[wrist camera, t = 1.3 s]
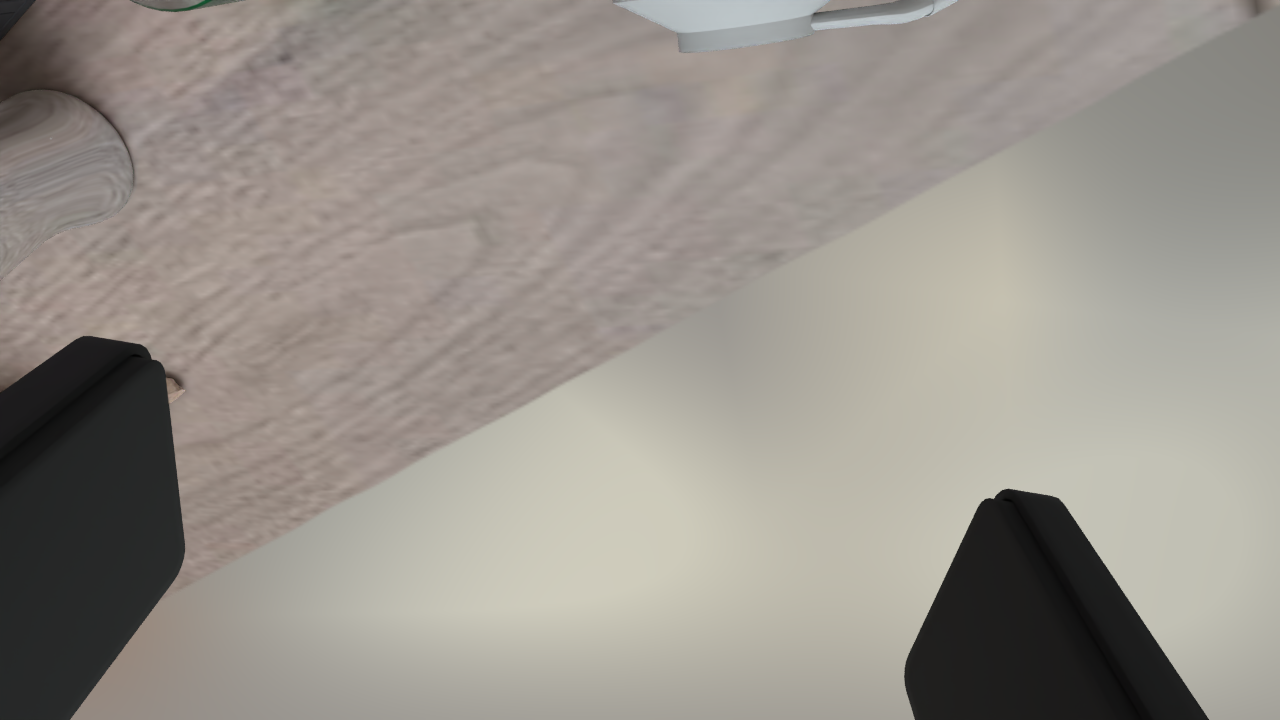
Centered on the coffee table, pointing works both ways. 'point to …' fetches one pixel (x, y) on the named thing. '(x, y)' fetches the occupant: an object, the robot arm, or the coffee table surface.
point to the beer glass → (55, 171)
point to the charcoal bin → (11, 13)
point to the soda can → (181, 4)
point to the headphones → (766, 19)
